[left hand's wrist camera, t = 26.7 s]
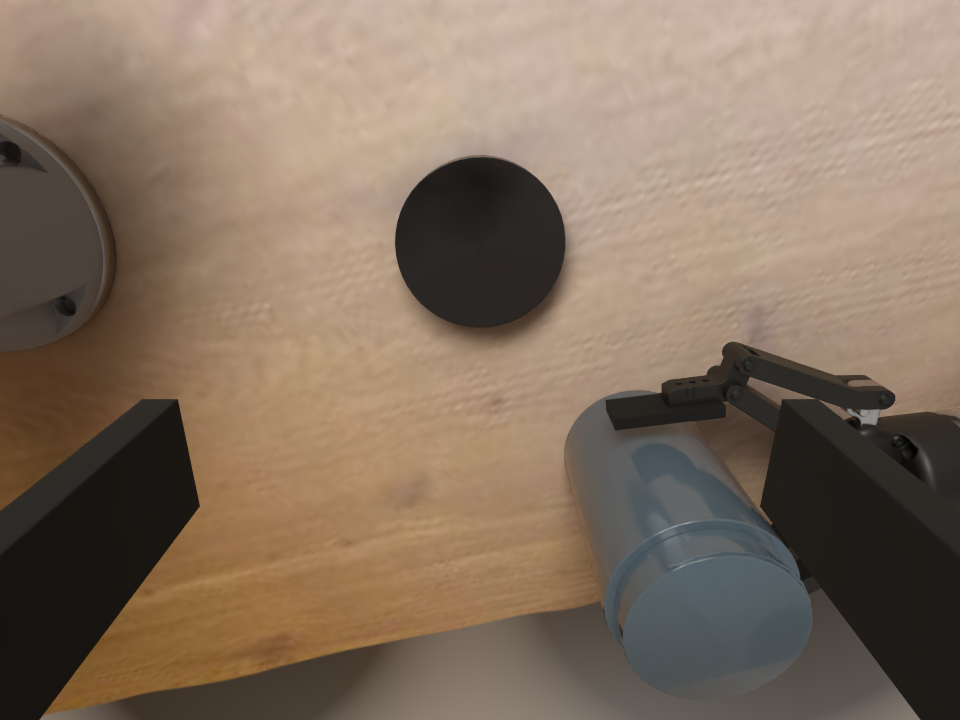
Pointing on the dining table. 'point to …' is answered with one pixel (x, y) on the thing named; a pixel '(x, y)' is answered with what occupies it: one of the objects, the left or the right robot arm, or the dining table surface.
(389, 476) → the dining table surface
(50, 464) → the dining table surface
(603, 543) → the jar
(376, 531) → the dining table surface
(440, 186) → the lid
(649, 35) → the dining table surface
